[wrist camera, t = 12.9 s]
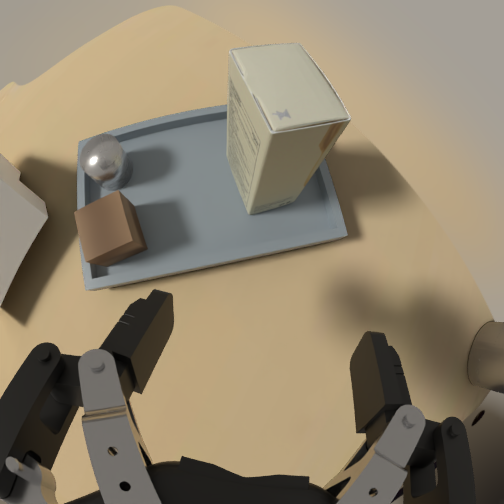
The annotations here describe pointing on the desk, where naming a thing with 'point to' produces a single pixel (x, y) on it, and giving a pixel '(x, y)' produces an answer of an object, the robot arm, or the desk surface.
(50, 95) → the desk surface
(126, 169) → the chrome dome knob
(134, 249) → the walnut block
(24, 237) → the slotted wedge
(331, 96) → the skincare box
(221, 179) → the blue-grey serving tray
